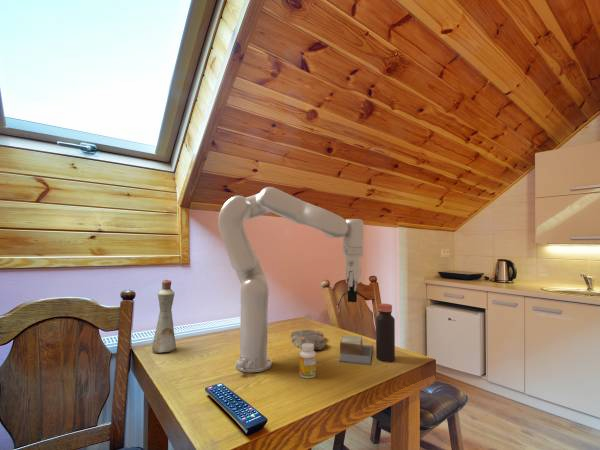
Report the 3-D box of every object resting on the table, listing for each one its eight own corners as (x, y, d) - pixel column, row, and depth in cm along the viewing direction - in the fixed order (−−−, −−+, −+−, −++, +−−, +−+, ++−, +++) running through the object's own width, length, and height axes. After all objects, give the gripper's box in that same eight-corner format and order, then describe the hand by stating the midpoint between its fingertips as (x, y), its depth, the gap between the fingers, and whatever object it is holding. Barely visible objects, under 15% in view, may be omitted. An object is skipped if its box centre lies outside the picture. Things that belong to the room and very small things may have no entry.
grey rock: (331, 352, 124) (320, 336, 143) (331, 340, 124) (320, 325, 143) (296, 355, 121) (290, 338, 141) (296, 342, 122) (290, 327, 141)
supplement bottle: (299, 371, 105) (299, 342, 105) (315, 371, 105) (315, 342, 105) (299, 378, 99) (299, 347, 100) (315, 378, 99) (316, 347, 100)
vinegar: (378, 354, 121) (378, 302, 122) (396, 357, 118) (396, 304, 119) (374, 360, 115) (374, 305, 116) (393, 363, 112) (393, 307, 113)
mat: (370, 365, 110) (370, 363, 110) (339, 361, 113) (339, 360, 113) (372, 346, 130) (372, 345, 130) (345, 344, 133) (345, 342, 133)
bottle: (151, 355, 117) (153, 281, 119) (152, 348, 126) (154, 278, 127) (176, 352, 121) (178, 280, 122) (175, 345, 129) (177, 277, 131)
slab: (361, 344, 119) (362, 336, 128) (340, 342, 120) (342, 334, 130) (361, 355, 118) (362, 346, 128) (340, 353, 120) (342, 345, 130)
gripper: (361, 253, 108) (360, 306, 107) (364, 251, 122) (363, 298, 121) (340, 252, 110) (339, 304, 109) (345, 251, 124) (344, 297, 124)
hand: (352, 301), depth 115 cm, fingers closed
